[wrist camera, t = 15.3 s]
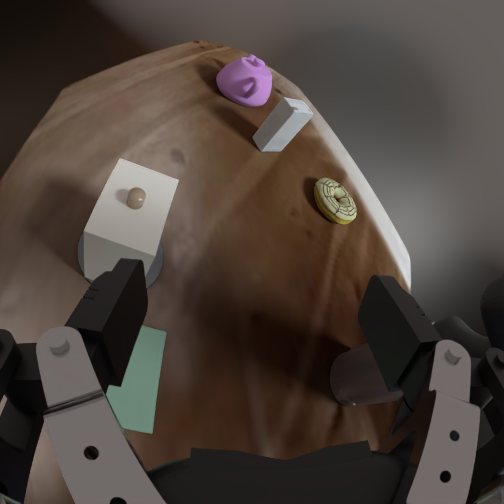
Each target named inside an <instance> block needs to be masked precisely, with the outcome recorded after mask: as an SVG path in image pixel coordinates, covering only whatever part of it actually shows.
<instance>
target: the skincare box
mask: <svg viewBox="0 0 504 504" xmlns="http://www.w3.org/2000/svg"><path fill="white" fill-rule="evenodd" d="M313 115H314V114H313V112H312V111H311V110H310V109H309V107H308V106H307V105H306V104H305V103H304V102H303V101H300V100H295V99H290V98H285V97H283V98H282V100H281V101H280V102H279V103H278V105H277V106H276V107H275V108H274V110H273V111H272V112H271V113H270V115H269V116H268V117H267V119H266V120H265V121H264V122H263V124H262V125H261V126H260V128H259V129H258V130H257V132H256V133H255V134H254V136H253V137H252V138H253V140H254V142H255V144H256V145H257V147H258V148H259V150H260V151H261V152H264V151H282V150H283V148H284V147H285V146H286V145H287V144H288V143H289V142H290V141H291V139H292V138H293V137H294V136H295V135H296V134H297V133H298V132H299V130H300V129H301V128H302V127H303V126H304V125H305V124H306V123H307V122H308V121H309V119H310V118H311V117H312V116H313Z"/></svg>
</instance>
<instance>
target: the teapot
mask: <svg viewBox="0 0 504 504" xmlns="http://www.w3.org/2000/svg"><path fill="white" fill-rule="evenodd" d="M264 65H265V63H264V62H263V61H262V60H260V59H258V58H256V57H255V56H254V55H252V54H248V56H247V57H243V58H240V59H237V60H235V61H233V62H231V63H229V64H228V65H226V66H225V67H224V68H223V69H222V70H221V71H220V72H219V73H218V75H217V78H216V81H217V85H218V88H219V90H220V92H221V93H222V94H223V95H224V96H225V97H227V98H228V99H230V100H231V101H233V102H235V103H237V104H239V105H242V106H246V107H256V106H260V105H263V104H264V103H266V101H267V99H268V97H269V95H270V92H271V86H272V76H271V72H270V70H269V69H268V68H267V67H266V66H264Z"/></svg>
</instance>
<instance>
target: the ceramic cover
mask: <svg viewBox="0 0 504 504" xmlns="http://www.w3.org/2000/svg"><path fill="white" fill-rule="evenodd" d="M178 181H179V180H177V179H174V178H172V177H169V176H166V175H164V174H161V173H158V172H156V171H153V170H150V169H148V168H145V167H142V166H140V165H137V164H134V163H132V162H129V161H126V160H123V159H121V158H120V159H119V161H118V163H117V164H116V166H115V168H114V170H113V172H112V174H111V176H110V177H109V179H108V181H107V183H106V185H105V187H104V189H103V191H102V193H101V195H100V197H99V199H98V201H97V203H96V205H95V207H94V210H93V212H92V214H91V216H90V218H89V220H88V223H87V225H86V227H85V229H84V274H85V277H86V278H89V279H91V280H95V278H97V277H98V276H100V275H101V274H102V273H104V272H105V271H112V270H113V268H114V267H115V265H116V264H117V262H118V261H119V259H120V258H129V259H141V260H142V261H143V263H144V271H145V277H146V275H147V272H148V270H149V268H150V266H151V264H152V262H153V260H154V258H155V256H156V252H157V249H158V245H159V242H160V238H161V235H162V231H163V228H164V225H165V221H166V218H167V215H168V212H169V208H170V205H171V202H172V199H173V196H174V193H175V190H176V187H177V184H178Z"/></svg>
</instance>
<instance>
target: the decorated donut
mask: <svg viewBox="0 0 504 504" xmlns="http://www.w3.org/2000/svg"><path fill="white" fill-rule="evenodd" d="M314 197H315V200H316V204H317V206H318V208H319V210H320V211H321V212H322V213H323V215H325V217H327V218H328V219H329V220H330V221H332V222H333V223H337V224H348V223H350V222H351V221H352V220H353V219H355V217H356V214H357V212H356V205H355V203H354V201H353V199H352V198H351V196H350V195H349V193H348V192H347V191H346V190H345V189H344V188H343V187H342V186H341V185H340V184H338V183H337V182H335V181H333V180H331V179H328V178H322V179H320V180H319V181H317V182H316V185H315V186H314Z"/></svg>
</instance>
